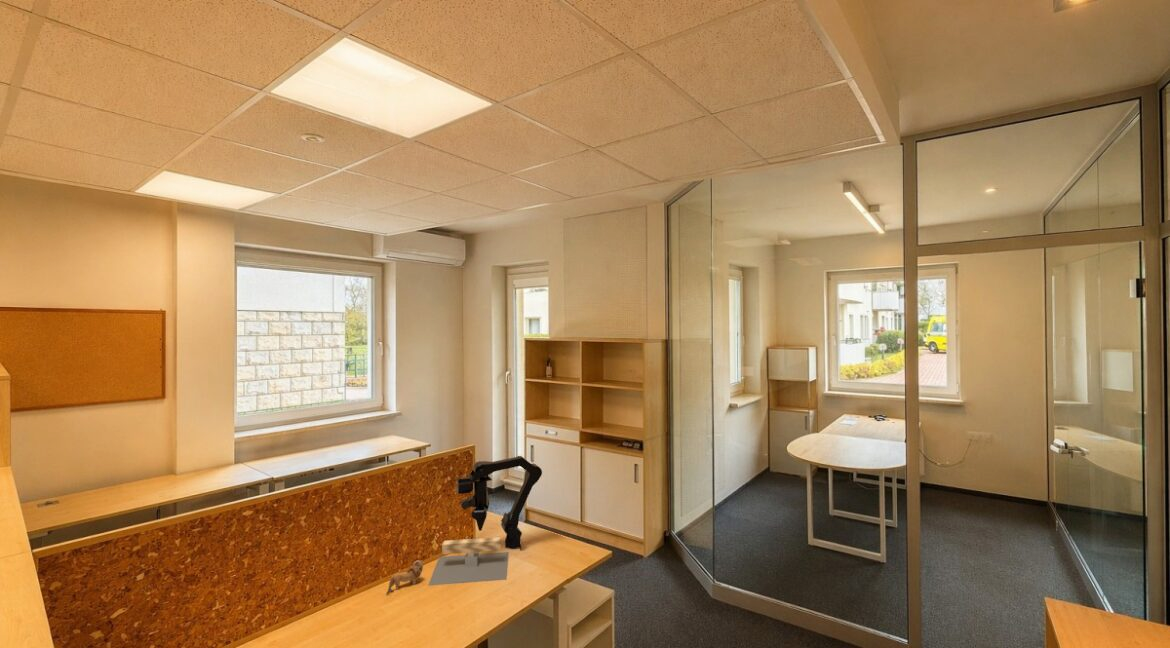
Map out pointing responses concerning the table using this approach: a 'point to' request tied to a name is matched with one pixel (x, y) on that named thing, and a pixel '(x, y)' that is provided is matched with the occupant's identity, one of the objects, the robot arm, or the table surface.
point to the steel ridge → (471, 559)
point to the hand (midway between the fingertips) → (481, 526)
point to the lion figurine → (406, 575)
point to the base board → (470, 569)
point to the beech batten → (471, 545)
